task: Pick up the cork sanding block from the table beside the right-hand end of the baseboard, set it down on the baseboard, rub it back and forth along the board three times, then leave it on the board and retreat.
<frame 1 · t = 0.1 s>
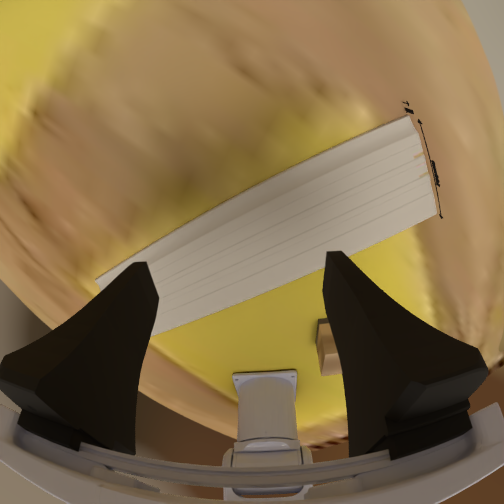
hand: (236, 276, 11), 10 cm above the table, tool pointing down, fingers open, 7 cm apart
baseboard: (247, 233, 23), on the table
sanding block: (344, 327, 29), on the table
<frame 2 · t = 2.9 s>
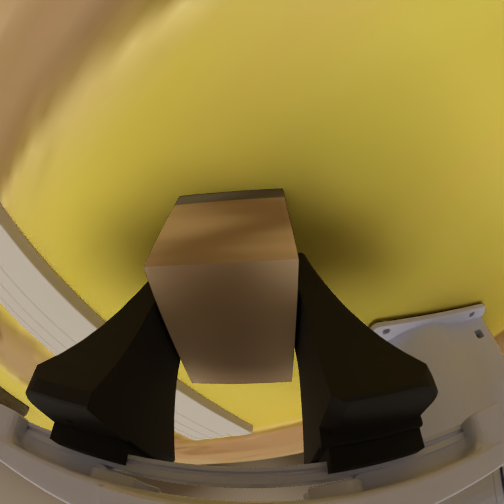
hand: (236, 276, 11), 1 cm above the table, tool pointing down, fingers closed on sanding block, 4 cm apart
baseboard: (100, 353, 19), on the table
sanding block: (237, 256, 12), on the table, touching gripper
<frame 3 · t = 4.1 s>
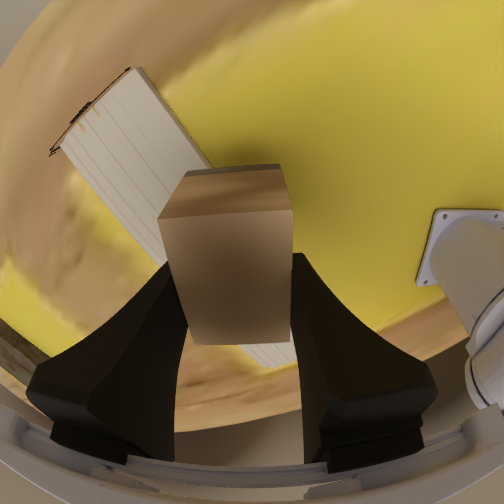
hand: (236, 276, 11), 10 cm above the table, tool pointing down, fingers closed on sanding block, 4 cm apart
baseboard: (209, 258, 24), on the table
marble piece: (25, 351, 36), on the table
sanding block: (238, 227, 14), point 6 cm above the table, touching gripper
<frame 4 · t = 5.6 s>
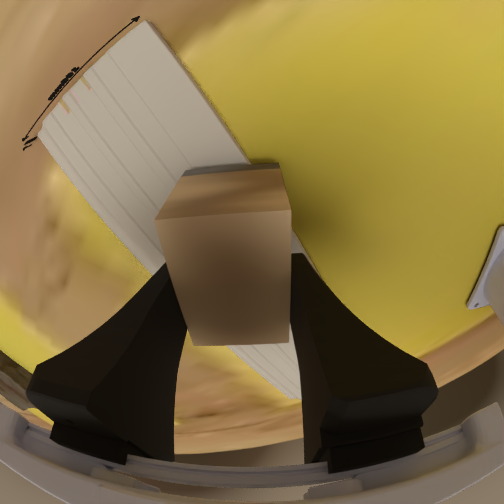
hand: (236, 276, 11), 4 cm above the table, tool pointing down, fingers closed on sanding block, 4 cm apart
baseboard: (237, 284, 18), on the table
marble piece: (14, 370, 30), on the table
sanding block: (237, 226, 13), point 1 cm above the table, touching gripper
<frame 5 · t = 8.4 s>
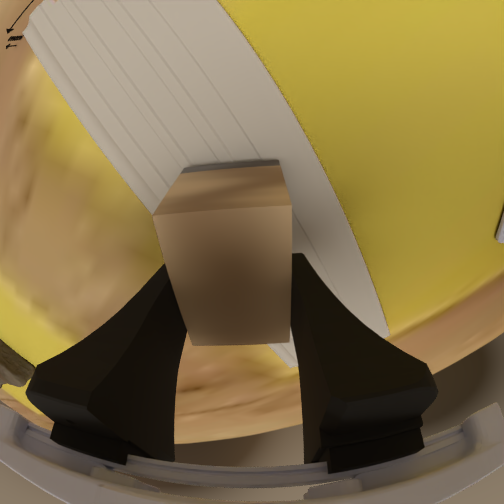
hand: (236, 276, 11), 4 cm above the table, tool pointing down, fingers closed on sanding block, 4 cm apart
baseboard: (221, 188, 14), on the table
sanding block: (237, 225, 13), point 1 cm above the table, touching gripper
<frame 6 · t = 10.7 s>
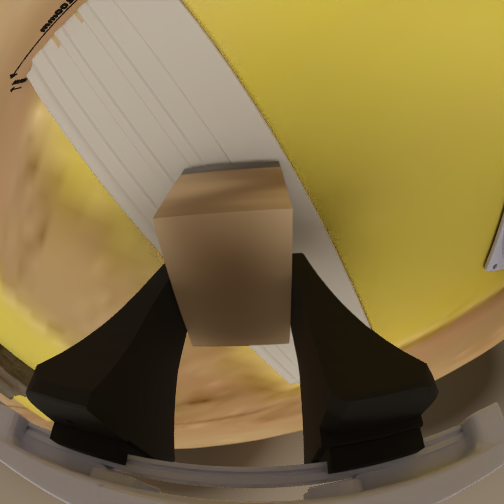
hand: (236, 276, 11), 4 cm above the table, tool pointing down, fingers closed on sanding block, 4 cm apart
baseboard: (229, 236, 16), on the table
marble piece: (1, 355, 28), on the table
sanding block: (237, 226, 13), point 1 cm above the table, touching gripper
when the fingers open (4 cm above the table, at t = 12.7 s): sanding block stays where it is, resting on baseboard.
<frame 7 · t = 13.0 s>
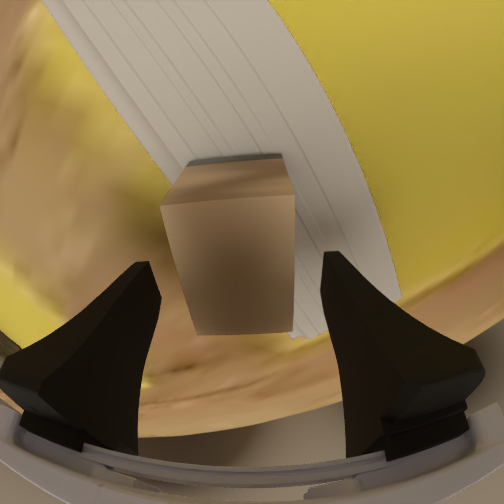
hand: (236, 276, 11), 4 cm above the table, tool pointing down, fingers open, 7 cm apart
baseboard: (218, 120, 13), on the table, touching sanding block
sanding block: (241, 217, 13), point 1 cm above the table, touching baseboard
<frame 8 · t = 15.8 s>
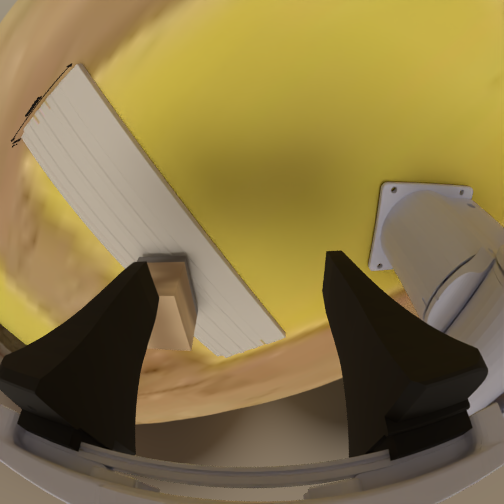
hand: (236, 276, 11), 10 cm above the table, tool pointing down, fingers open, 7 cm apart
baseboard: (151, 240, 23), on the table, touching sanding block
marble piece: (1, 337, 34), on the table
sanding block: (169, 285, 23), point 1 cm above the table, touching baseboard
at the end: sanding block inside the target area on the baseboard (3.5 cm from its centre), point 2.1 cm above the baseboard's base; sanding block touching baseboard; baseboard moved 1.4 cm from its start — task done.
